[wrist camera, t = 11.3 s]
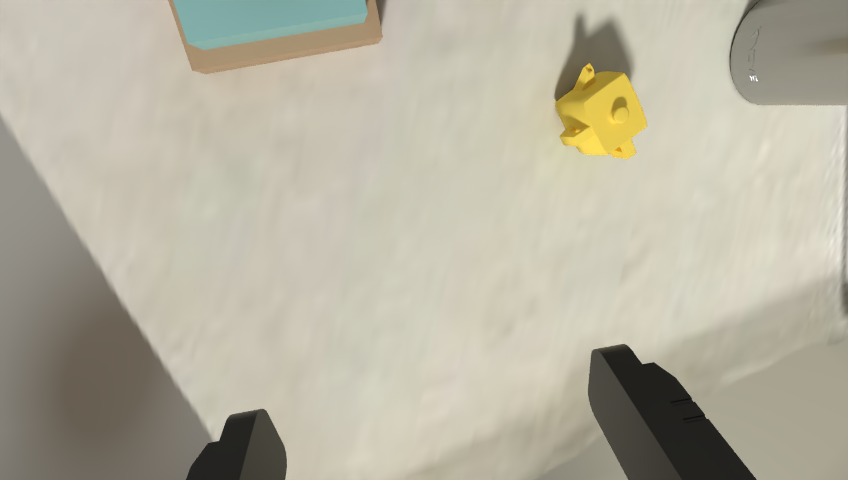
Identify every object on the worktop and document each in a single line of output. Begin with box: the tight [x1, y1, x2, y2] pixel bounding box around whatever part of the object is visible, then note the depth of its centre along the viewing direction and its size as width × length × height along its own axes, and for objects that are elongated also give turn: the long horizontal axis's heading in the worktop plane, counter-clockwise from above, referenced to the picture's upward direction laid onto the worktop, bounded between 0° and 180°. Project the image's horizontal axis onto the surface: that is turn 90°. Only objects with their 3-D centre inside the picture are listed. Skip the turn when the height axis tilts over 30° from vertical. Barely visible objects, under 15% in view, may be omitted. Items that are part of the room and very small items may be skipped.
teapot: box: [555, 63, 647, 159], centre depth 33 cm, size 8×6×5 cm
